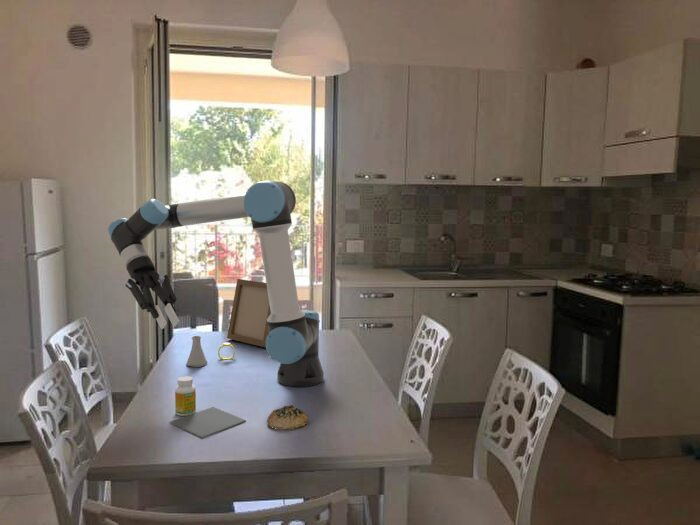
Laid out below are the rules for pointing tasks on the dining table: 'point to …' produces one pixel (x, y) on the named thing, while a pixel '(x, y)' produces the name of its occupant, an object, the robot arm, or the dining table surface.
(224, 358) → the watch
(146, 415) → the dining table surface
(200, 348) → the flask
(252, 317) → the photo frame
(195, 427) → the mat
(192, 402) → the supplement bottle
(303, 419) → the bread roll
